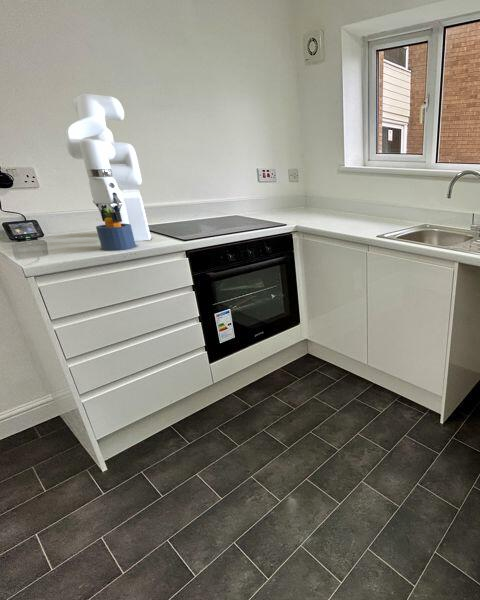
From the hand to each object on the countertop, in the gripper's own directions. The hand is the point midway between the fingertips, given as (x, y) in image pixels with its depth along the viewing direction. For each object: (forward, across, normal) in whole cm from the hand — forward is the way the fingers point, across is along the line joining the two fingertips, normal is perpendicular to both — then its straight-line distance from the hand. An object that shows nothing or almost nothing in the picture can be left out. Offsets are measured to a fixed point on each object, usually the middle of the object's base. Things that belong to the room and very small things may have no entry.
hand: (112, 221), depth 142 cm
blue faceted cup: (+11, 0, 0) cm, 11 cm away
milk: (+11, +6, -15) cm, 19 cm away
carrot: (+10, 0, 0) cm, 10 cm away
